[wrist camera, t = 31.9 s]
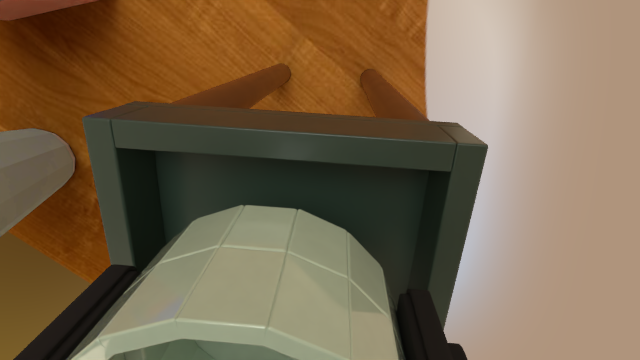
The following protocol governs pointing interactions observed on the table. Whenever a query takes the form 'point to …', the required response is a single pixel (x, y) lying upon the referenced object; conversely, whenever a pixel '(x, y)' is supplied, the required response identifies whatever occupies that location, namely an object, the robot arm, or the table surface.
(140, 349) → the dish
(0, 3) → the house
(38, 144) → the disposable coffee cup
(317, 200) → the tray
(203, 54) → the table surface
